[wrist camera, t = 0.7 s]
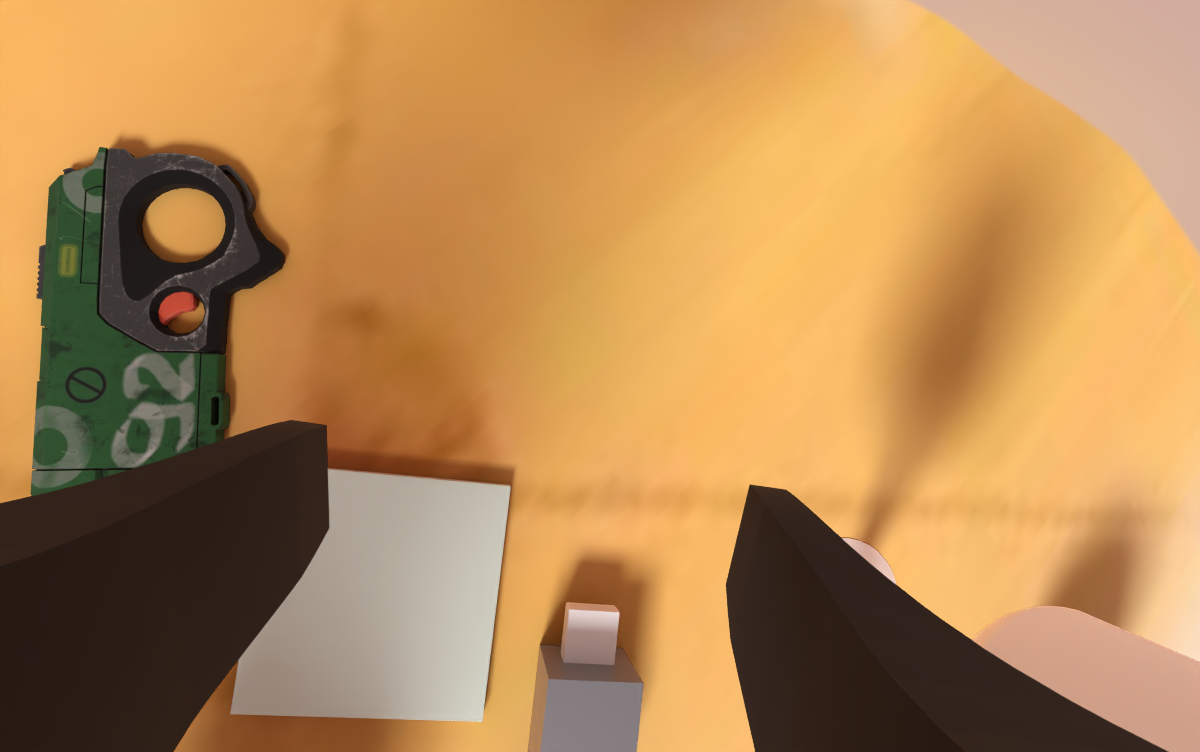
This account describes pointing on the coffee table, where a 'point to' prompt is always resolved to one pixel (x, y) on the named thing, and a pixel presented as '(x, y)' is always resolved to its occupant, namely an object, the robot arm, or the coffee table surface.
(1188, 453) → the coffee table surface
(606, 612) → the connector plug
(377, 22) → the coffee table surface
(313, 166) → the coffee table surface
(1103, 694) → the champagne flute
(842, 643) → the robot arm
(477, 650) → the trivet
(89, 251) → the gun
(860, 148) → the coffee table surface
